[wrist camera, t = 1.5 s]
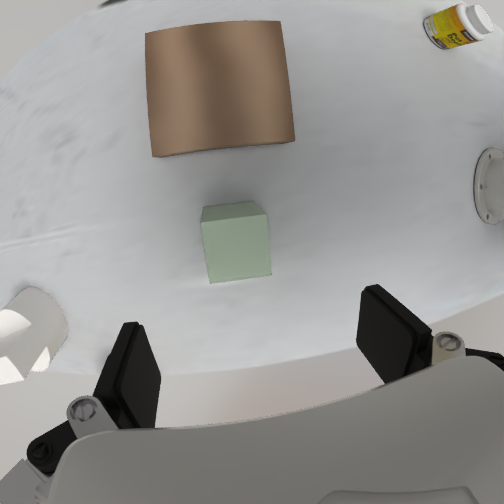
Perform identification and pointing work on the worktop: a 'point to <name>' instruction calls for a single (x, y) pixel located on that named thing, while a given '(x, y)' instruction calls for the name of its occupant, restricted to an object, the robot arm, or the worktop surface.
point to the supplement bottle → (458, 26)
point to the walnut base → (217, 87)
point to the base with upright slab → (29, 334)
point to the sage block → (235, 241)
